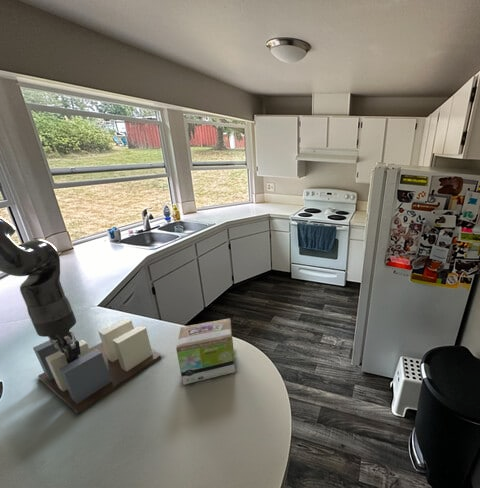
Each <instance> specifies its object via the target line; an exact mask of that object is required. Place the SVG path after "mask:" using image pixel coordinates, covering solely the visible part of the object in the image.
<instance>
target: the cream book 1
mask: <svg viewBox="0 0 480 488" xmlns="http://www.w3.org/2000/svg"><path fill="white" fill-rule="evenodd" d="M78 341H79V345H80V352H81V354H79V355H78V357H79V358H80V357H82V356H84V355H86V354H88V353H90V350H89V349H90V347H89V344H88V342H86V341H85V340H83V339H81V340H78ZM46 361H47V363H48V365H49V367H50V370H51V372H52V374H53V376H54V378H55V381H56V383H57V385H58V387H59V388H60V389H61V390H62V391H65V390H67V387H66V384H65V382H64V380H63V377H62V375H61V373H60V370H59V369H60V368H61V367H63V366H65V365H67V364H68V362H67V360H66V358H65V356H64V354H63V353H61V352H59V351H58V352H56V353H54V354H52V355H50V356H48V357H46Z"/></svg>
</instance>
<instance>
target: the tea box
mask: <svg viewBox="0 0 480 488" xmlns="http://www.w3.org/2000/svg"><path fill="white" fill-rule="evenodd" d="M175 349H176V356H177V360H178V365H179V371H180V375H181V381H182V384H183V385H184V386H185V385H189V384H192V383H193V384H194V383H196V382H201V381H205V380H209V379H213V378H217V377H221V376H225V375H229V374H234V373H235V372H236V369H235V351H234V340H233V330H232V320H231V318H223V319H219V320H213V321H206V322H202V323H197V324H190V325H184V326H180V329H179V334H178V338H177V344H176V348H175Z"/></svg>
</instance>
